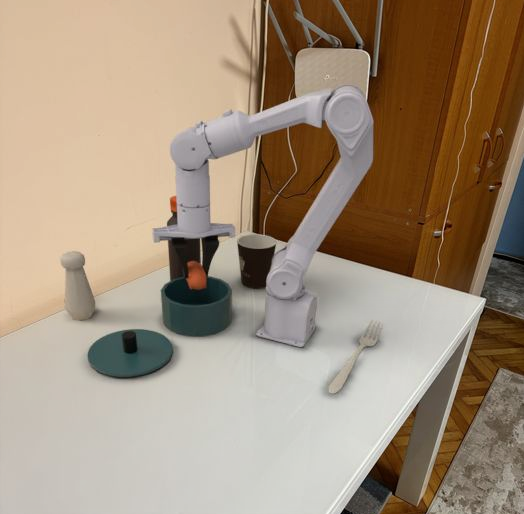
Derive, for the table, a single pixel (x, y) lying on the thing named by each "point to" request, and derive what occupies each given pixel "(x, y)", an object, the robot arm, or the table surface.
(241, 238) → the coffee mug
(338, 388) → the fork
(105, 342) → the pot lid
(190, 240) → the bottle
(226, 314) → the pot
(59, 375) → the table surface
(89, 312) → the salt shaker
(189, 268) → the hot dog
